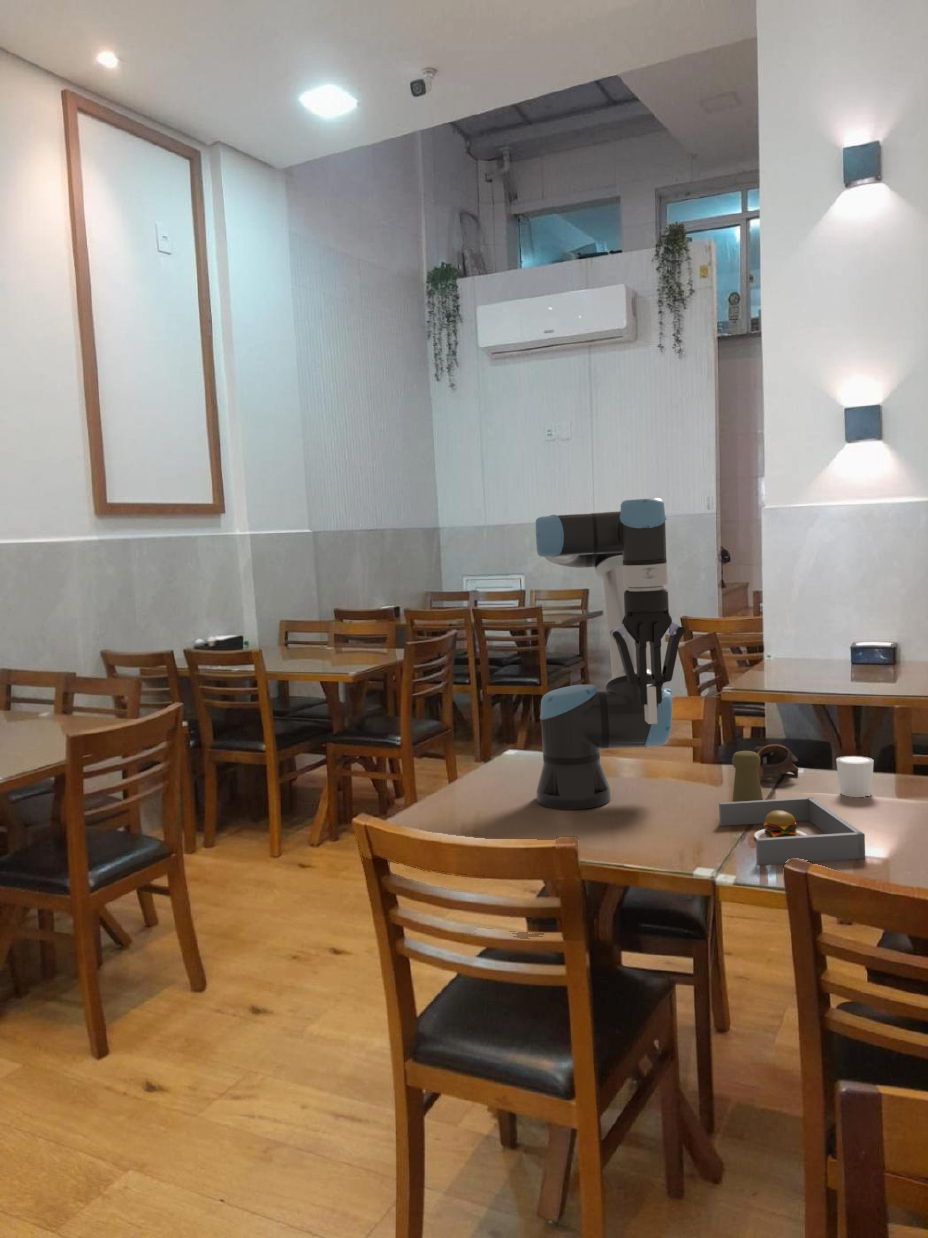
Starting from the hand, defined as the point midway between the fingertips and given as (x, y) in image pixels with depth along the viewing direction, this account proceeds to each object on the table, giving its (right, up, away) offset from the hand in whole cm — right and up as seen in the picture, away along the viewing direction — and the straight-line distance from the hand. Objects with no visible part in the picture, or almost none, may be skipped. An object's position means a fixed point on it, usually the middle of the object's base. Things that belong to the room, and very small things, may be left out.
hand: (651, 722), depth 163 cm
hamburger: (+22, -21, -3) cm, 30 cm away
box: (+22, -20, -4) cm, 30 cm away
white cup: (+45, -17, +21) cm, 52 cm away
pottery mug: (+34, -16, +37) cm, 53 cm away
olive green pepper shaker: (+22, -19, +16) cm, 33 cm away
